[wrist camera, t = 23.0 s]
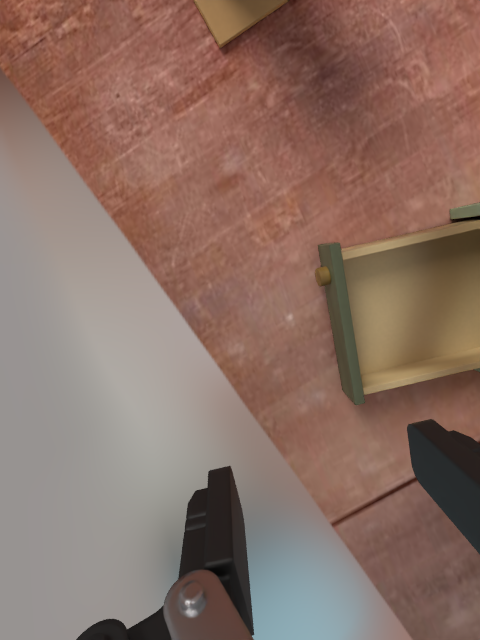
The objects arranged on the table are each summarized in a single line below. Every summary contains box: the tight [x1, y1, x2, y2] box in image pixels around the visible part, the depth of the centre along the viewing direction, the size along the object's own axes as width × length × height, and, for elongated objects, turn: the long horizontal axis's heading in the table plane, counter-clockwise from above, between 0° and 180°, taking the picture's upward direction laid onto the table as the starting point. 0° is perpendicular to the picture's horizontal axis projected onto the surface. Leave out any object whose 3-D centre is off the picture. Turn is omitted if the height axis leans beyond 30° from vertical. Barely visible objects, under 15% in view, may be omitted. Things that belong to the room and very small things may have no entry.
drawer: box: [315, 217, 480, 405], centre depth 27 cm, size 16×13×3 cm
